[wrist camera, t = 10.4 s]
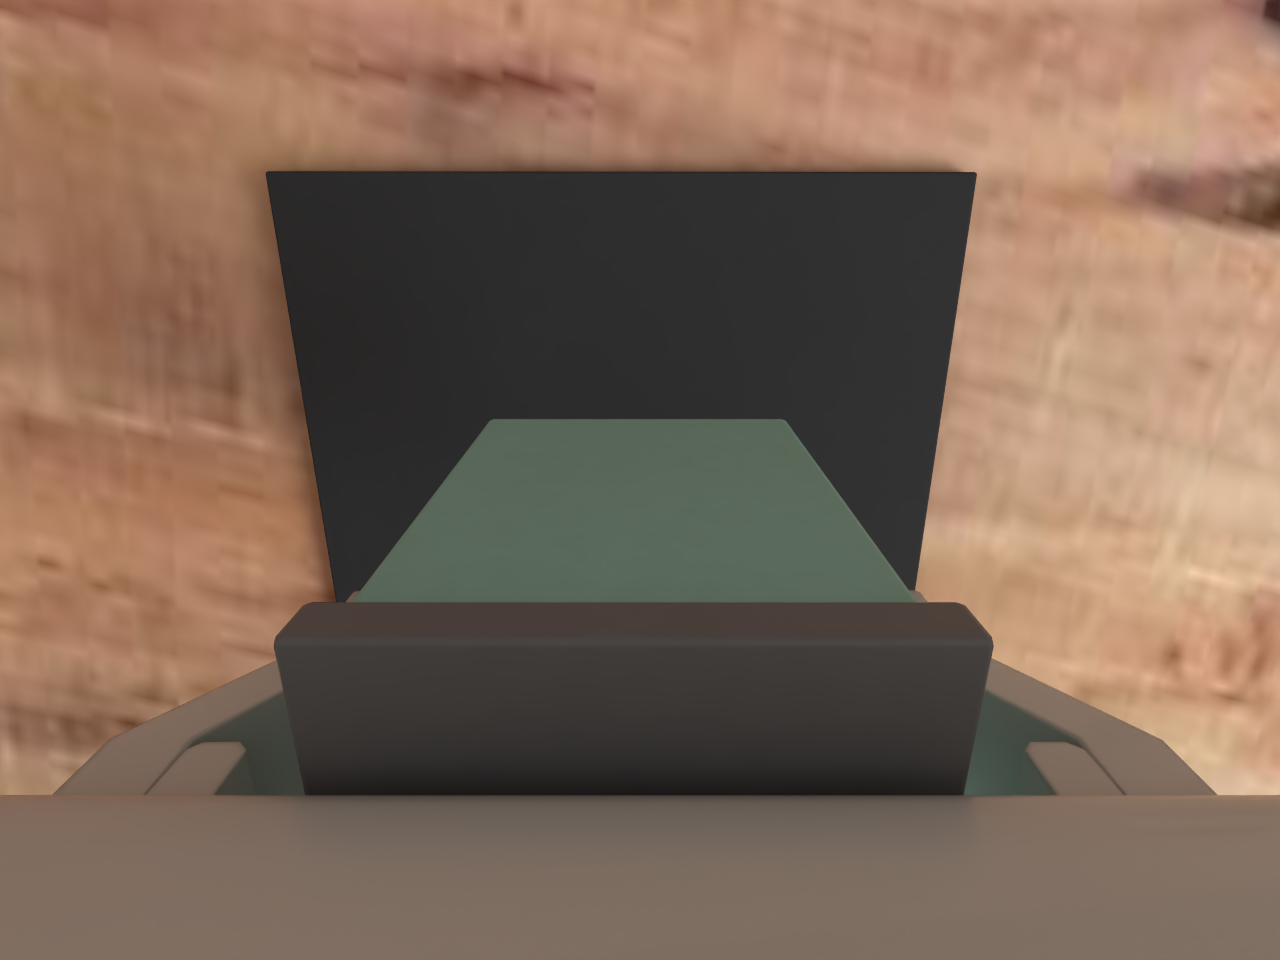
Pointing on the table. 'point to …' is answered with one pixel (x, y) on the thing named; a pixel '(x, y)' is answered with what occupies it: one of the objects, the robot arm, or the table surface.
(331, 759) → the green block grey end
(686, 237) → the mat
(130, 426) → the table surface
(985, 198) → the table surface
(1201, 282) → the table surface
